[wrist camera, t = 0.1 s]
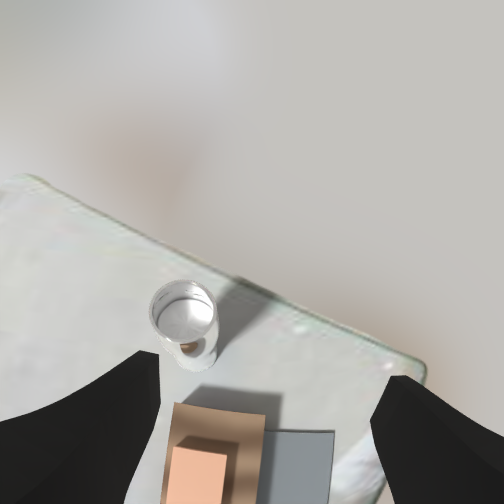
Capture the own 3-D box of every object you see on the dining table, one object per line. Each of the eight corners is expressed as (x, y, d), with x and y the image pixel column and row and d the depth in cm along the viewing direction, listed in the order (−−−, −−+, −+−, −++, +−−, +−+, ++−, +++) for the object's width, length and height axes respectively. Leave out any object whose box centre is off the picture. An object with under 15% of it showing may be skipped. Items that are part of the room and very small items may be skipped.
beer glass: (172, 327, 41) (150, 276, 29) (220, 328, 42) (219, 277, 30) (170, 374, 37) (143, 343, 25) (221, 375, 38) (219, 345, 26)
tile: (218, 518, 24) (218, 522, 22) (168, 509, 24) (164, 513, 22) (226, 453, 29) (227, 455, 27) (176, 445, 29) (173, 446, 27)
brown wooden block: (246, 544, 24) (248, 554, 21) (162, 532, 24) (156, 541, 20) (261, 416, 35) (265, 415, 32) (179, 404, 35) (174, 402, 32)
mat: (321, 532, 25) (322, 533, 25) (247, 533, 25) (248, 534, 25) (332, 432, 34) (333, 432, 34) (260, 430, 34) (260, 430, 34)
